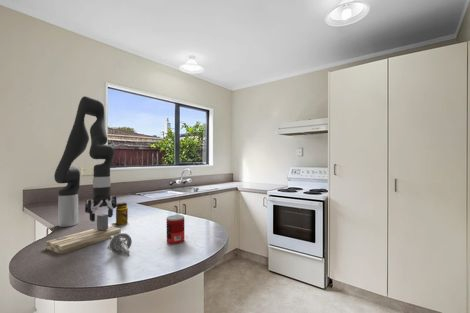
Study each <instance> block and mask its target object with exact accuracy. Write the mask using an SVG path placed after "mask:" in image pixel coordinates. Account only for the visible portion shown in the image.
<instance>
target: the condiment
mask: <svg viewBox="0 0 470 313" xmlns="http://www.w3.org/2000/svg"><path fill="white" fill-rule="evenodd" d="M128 209H129V208H128V202H118V203H117V207H116V208H115V222H112V223H110V224H111V227H112V228H113V227H121V226H128V225H130V223H129V222H128V221H129V220H128V219H129V218H128V217H129V216H128V215H129V214H128V211H129V210H128Z"/></svg>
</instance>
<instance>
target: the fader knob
mask: <svg viewBox="0 0 470 313" xmlns="http://www.w3.org/2000/svg"><path fill="white" fill-rule="evenodd" d="M108 226H109V217H108V213H107V214H106V213H101V214H97V215H96V228H97V230H100V231H103V230H107V229H108Z"/></svg>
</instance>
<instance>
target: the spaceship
mask: <svg viewBox="0 0 470 313" xmlns="http://www.w3.org/2000/svg"><path fill="white" fill-rule="evenodd" d="M110 237H112V238H110V239H111V240H110V241H109V248H110V251H111V252H112V253H113V254H116V255H121V254H124V255H126V256H127V257H130V250H129V249H130V248H131V246H132V244H133V242H132V238H131V236H130V234H128V233H126V232H125V233H124V232H121V233H120V232H118V233H117V234H116V233H115V234H114V235H113V236H110ZM117 247H118V248H117Z"/></svg>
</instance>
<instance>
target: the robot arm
mask: <svg viewBox="0 0 470 313" xmlns="http://www.w3.org/2000/svg"><path fill="white" fill-rule="evenodd" d="M105 113H106V112H105V105H104V102H103V101H100V100H99V99H95V98H92V97H89V96H82V97H81V99H80V101H79V103H78V106H77V111H76V114H75V118H74V122H73V125H72V129H71V130H70V133H69V136H68V138H67V141H66V145H65V148H64V150H63V154H62V157H61V158H60V160H59V162H58V165H57V166H56V169H55V171H54V176H53V177H54V181H55V182H56V183H57V184H66V186H64V187H63V188H61V189H59V190H58V193H57V195H58V197H57V198H58V199H57V200H58V204H57V205H58V206H57V207H58V208H57V209H58V210H57V211H58V213H57V216H58V218H57V219H58V220H57V221H58V222H57V224H58V225H57V226H58V227H61V228H65V227H73V226H76V225H78V224H79V190H80V185H81V184H80V183H81V172H80V169H79V168H78V167H76V166H72V164H73V162H75V160H77V158H78V157H79V156H81V155H82V154H83V153H84V152H85V150H86V148H87V147H88V144H89V141H90V140H91V141H90V142H91V143H90V147H89V153H88V154H89V157H90V158H91V159H92V160H104V162H101V163H99V164H95V165H94V166H93V178H92V199H86V200H85V203H84V204H85V208H84V213H86V214H89V221H91V222H95V221H96V211H97V210H98V209H99V208H103V207H105V208H107V215H108V218H112V217H113V215H114V209H116V208H117V204H118V203H117V196H116V195H111V188H112V187H111V186H112V185H111V184H112V181H111V166H112V161H113V158H114V156H115V148H114V147H113V146H112V145H111V144H110V145H109V144H107V143H108V137H107V136H108V135H107V132H106V125H105V124H106V122H105V121H106V119H105V117H106V116H105V115H106V114H105ZM86 115H88V116H90V117H91V116H92V117H95V118H96V120H95V121H94V122H93V124H91V126H90V129H89V133H88V130H87V127H86V124H85V117H86ZM89 135H90V136H89Z"/></svg>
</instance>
